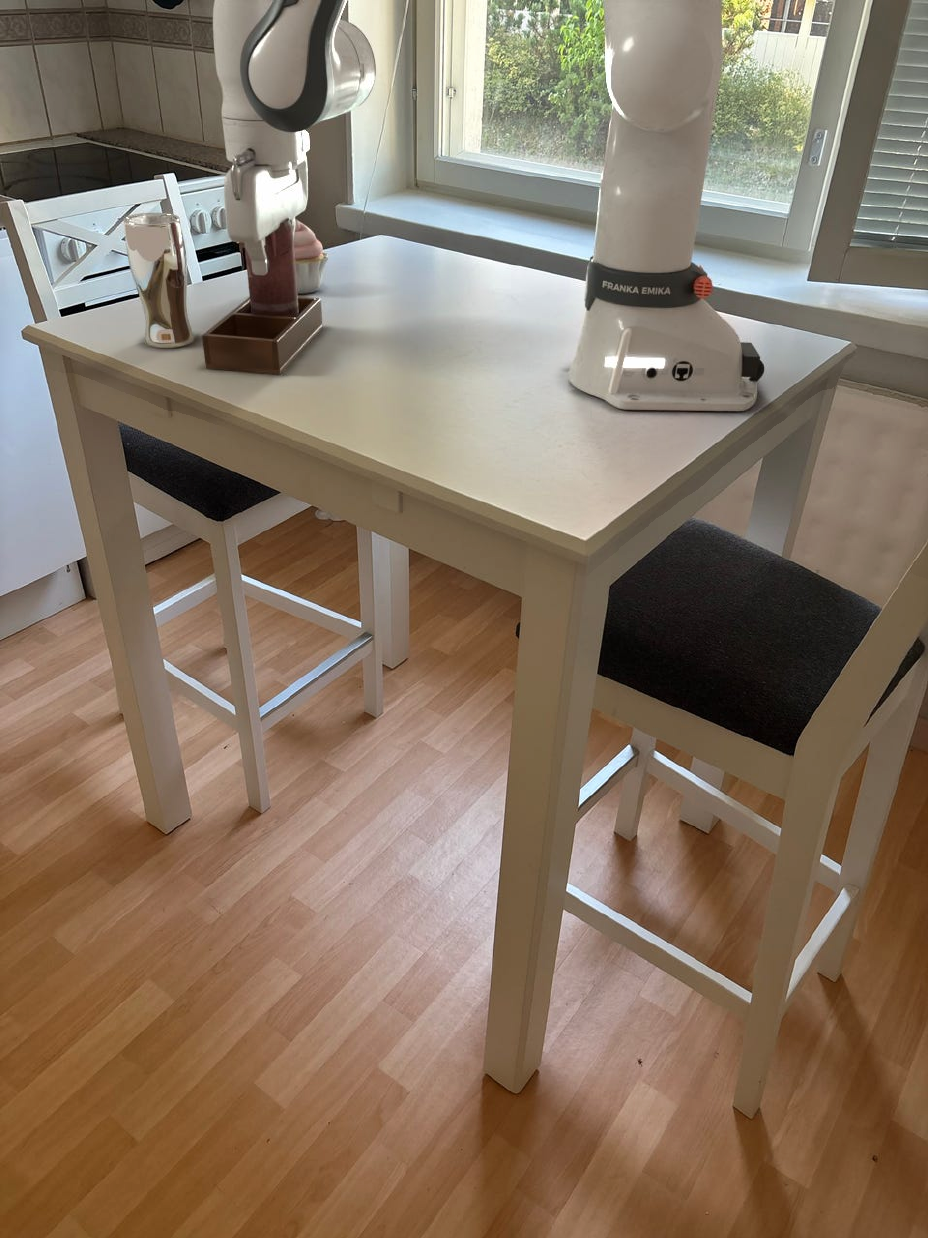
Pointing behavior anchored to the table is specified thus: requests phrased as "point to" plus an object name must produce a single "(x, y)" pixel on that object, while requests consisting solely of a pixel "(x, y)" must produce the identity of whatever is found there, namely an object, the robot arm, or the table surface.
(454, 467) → the table surface
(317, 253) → the cupcake
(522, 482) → the table surface
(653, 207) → the robot arm
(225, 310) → the table surface
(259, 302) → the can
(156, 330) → the beer glass
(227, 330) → the tray
